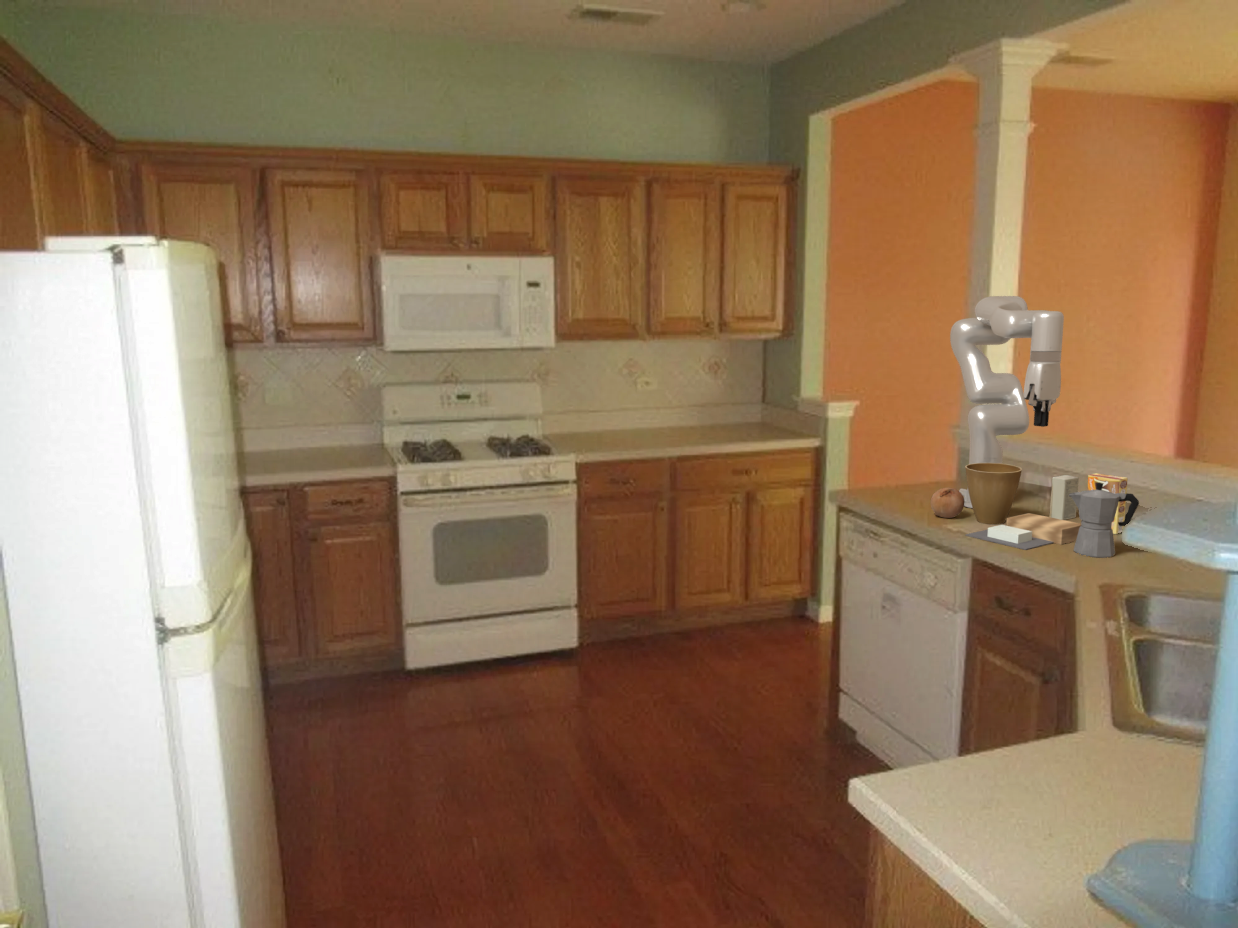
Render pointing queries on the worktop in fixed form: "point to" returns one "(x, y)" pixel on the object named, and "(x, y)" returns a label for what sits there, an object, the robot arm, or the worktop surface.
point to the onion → (947, 502)
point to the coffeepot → (1099, 520)
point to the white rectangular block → (1009, 534)
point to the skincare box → (1063, 497)
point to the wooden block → (1046, 527)
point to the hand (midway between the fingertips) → (1040, 425)
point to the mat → (1025, 545)
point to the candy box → (1113, 486)
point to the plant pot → (992, 490)
